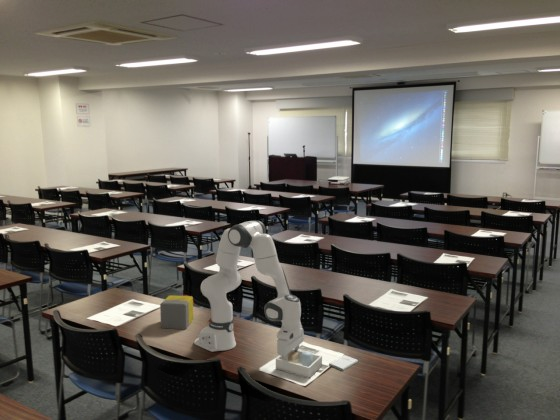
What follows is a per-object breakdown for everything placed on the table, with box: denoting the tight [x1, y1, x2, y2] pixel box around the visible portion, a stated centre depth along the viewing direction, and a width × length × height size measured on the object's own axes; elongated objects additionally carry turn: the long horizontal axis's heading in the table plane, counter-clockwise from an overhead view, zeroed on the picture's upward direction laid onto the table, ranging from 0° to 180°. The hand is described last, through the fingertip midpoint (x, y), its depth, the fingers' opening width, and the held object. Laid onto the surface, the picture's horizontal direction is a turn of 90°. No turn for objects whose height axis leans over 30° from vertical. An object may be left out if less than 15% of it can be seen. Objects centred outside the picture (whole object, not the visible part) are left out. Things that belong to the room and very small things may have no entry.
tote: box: [275, 349, 323, 379], centre depth 219 cm, size 18×14×5 cm
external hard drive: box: [328, 354, 359, 372], centre depth 224 cm, size 2×8×12 cm
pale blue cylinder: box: [302, 350, 313, 367], centre depth 217 cm, size 5×5×7 cm
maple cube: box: [287, 351, 298, 364], centre depth 221 cm, size 5×5×5 cm
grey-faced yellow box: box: [159, 294, 195, 330], centre depth 275 cm, size 15×24×15 cm, turn 174°
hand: (291, 357), depth 221 cm, fingers open, 8 cm apart
